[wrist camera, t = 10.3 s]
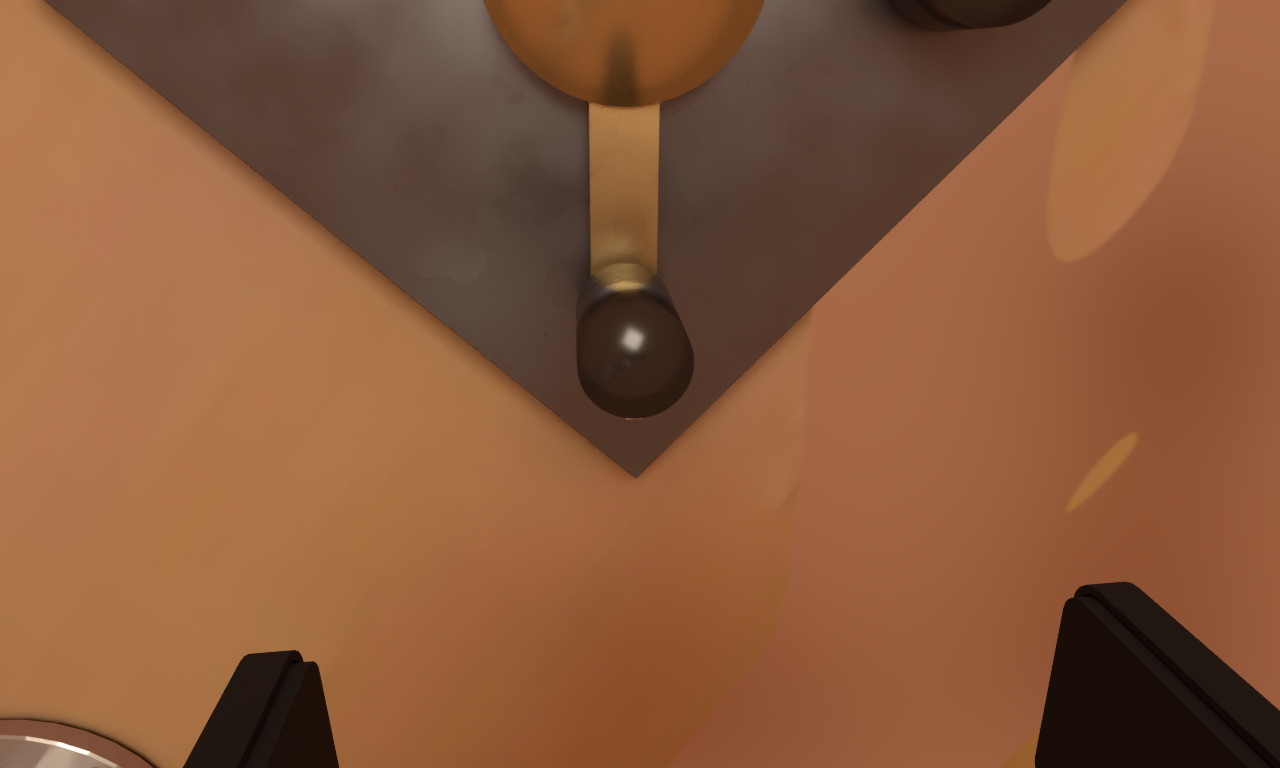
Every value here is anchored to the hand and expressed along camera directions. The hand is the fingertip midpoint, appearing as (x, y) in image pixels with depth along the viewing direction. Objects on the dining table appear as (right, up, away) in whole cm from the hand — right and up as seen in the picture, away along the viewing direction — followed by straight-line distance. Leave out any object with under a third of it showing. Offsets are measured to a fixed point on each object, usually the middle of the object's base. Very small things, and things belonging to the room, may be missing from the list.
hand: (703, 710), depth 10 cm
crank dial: (-1, +13, +14) cm, 19 cm away
